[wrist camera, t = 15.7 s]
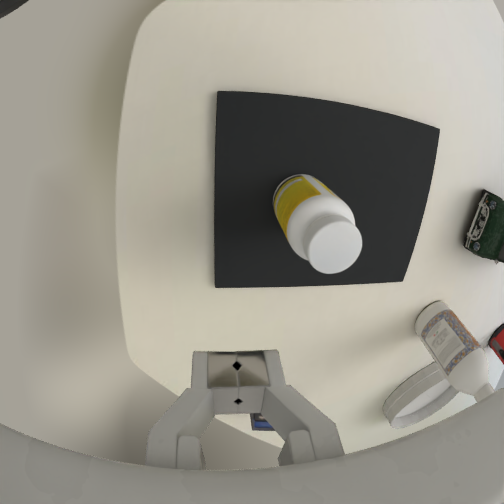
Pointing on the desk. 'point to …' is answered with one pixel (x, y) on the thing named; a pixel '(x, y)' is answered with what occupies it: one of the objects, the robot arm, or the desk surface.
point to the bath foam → (454, 350)
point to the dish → (418, 397)
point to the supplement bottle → (317, 223)
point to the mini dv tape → (260, 422)
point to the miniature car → (488, 229)
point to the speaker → (498, 343)
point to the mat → (326, 171)
